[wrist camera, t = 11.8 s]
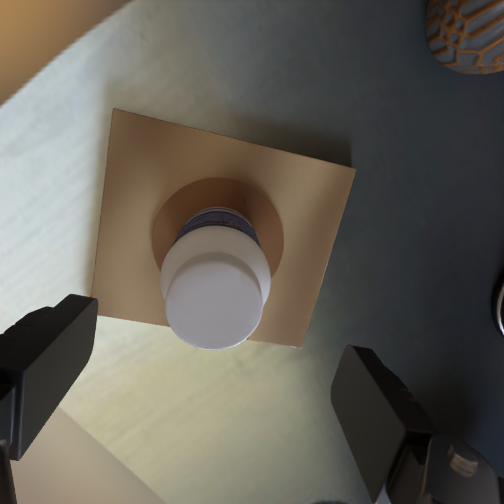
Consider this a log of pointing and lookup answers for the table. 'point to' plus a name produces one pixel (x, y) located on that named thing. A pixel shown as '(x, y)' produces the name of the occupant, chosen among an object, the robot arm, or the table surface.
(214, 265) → the pill bottle
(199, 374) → the table surface
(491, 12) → the vase
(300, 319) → the place mat
